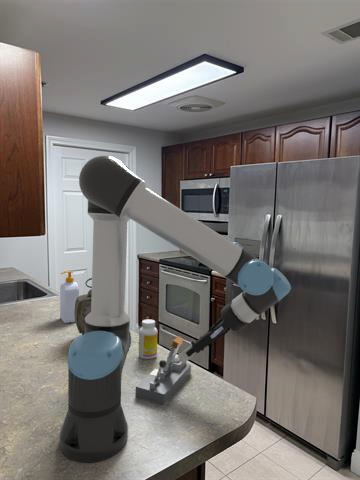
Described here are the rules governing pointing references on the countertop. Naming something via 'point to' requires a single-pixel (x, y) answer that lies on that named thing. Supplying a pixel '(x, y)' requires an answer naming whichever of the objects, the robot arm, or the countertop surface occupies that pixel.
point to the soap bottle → (68, 298)
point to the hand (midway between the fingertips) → (181, 359)
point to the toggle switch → (162, 364)
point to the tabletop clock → (82, 309)
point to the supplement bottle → (148, 339)
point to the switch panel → (163, 383)
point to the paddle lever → (172, 354)
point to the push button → (176, 359)
